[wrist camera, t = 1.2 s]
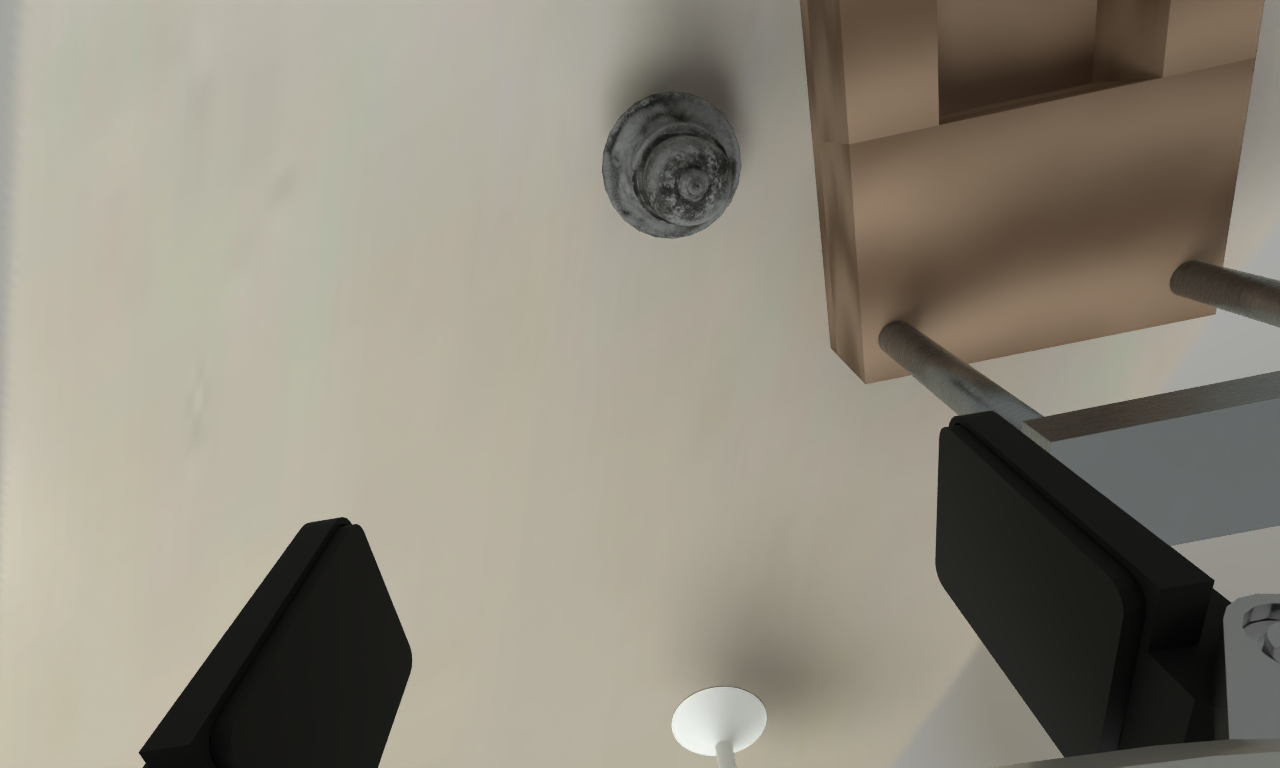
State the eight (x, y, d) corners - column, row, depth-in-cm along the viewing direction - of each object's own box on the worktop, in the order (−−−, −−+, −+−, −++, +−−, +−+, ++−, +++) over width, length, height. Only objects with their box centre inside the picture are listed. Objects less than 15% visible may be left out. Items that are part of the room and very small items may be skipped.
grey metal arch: (859, 301, 28) (1050, 442, 16) (1229, 226, 28) (1720, 312, 15) (865, 384, 30) (1043, 569, 18) (1215, 314, 29) (1651, 455, 17)
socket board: (780, -219, 25) (819, -295, 20) (1194, -317, 25) (1329, -417, 20) (831, 348, 34) (865, 384, 30) (1132, 287, 34) (1215, 314, 29)
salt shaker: (585, 117, 29) (571, 118, 18) (709, 76, 29) (770, 51, 18) (624, 241, 32) (632, 307, 21) (739, 205, 31) (810, 252, 20)
